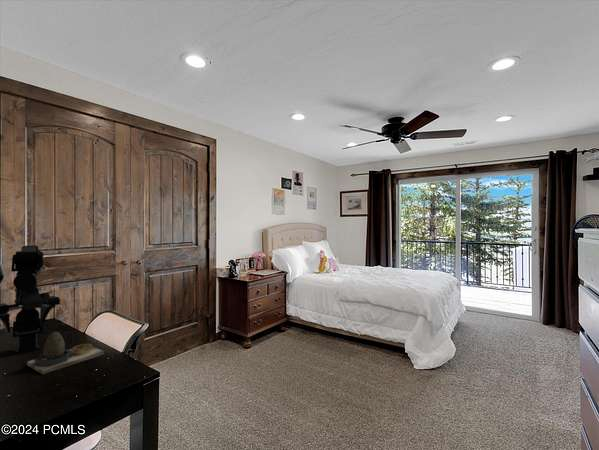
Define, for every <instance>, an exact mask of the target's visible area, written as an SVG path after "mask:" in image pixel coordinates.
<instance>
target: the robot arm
mask: <svg viewBox="0 0 599 450" xmlns="http://www.w3.org/2000/svg"><path fill="white" fill-rule="evenodd" d="M11 261H12V262H11V271H10V272H16V274H15V277H14V279H13V281H12V282H13V283H12V284H13V286H14V287H15V288H14V292H15V300H14V303H13V304H7V303H0V321H1V322H2V325H3V327H4V328H5V330H6V332H7V333H8V334H10V333H11V323H10V322H11V321H10V316H11V313H8V312H10V311H15V310H20V311H19V312H17V313H16V316H15V320H14V321H13V323H12V337H13V339H14V338H17V348H14V349H13V351H15V352H16V353H18V354H24V353H28V352H31V351H35V350H38V349H41V346H40V345H38V334H42V333H43V332H45V331H44V330H45V327H44V325H45V321H46V319H47V317H48V314H49V313H50V311H51V310H52V309H53V308H56V307H57V306H59V305H60V304H61V298H60V297H58V296H55V295H50V293H49V292H41V293H39V292H40V291H39V287H38V275H39V274H40V272H41V271H42V268H44V267H43V266H44V252H42V251H41V250H39V246H38V245H24V246H21V250H20V251H18V250H17V251H15V253H14V254H12V259H11ZM37 309H39V311H40V312H39V311H38V310H37Z"/></svg>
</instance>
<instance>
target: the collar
mask: <svg viewBox="0 0 599 450" xmlns="http://www.w3.org/2000/svg"><path fill="white" fill-rule="evenodd" d="M71 357H72V351H70V349H68V348H66V349H65V350H64V353H63V355H62V356H61V357H58V358H55V359H46V358H45V357H44V353H41V354H40V355H38V356H36V357H35V358H34V360H35V364H36V365H37V366H39V367H42V366H53V365H56V364H60V363H63V362H66V361H68V360H69V359H70V358H71ZM44 359H46V360H44Z"/></svg>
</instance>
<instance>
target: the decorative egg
mask: <svg viewBox="0 0 599 450" xmlns="http://www.w3.org/2000/svg"><path fill="white" fill-rule="evenodd" d="M65 344H66V343H65V340H64V338H63V336H62V334H61V333H60V332H58V331H53V332H51V333H50V334H49V335H48V337H47V338H46V340H45V343H44V345H43V353H44V357H45V358H46V359H55V358H58V357H61V356H62V355H63V353H64V350H65V348H66V345H65ZM43 353H42V354H43Z"/></svg>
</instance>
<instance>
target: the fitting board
mask: <svg viewBox="0 0 599 450" xmlns="http://www.w3.org/2000/svg"><path fill="white" fill-rule="evenodd" d="M69 350H70V351H72V348H70V349H69ZM102 355H105V351H104V350H102V349H99V348H97V347H94V346H93V350H92V351H91V352H89V353H86V354H82V355H74V354H72V357H71V358H70V359H69V360H68V361H66V362H63V363H60V364H56V365H53V366H42V367H39V366H37V365H36V364H35V359H31V360H28V361H27V362H26V366H28V367H29V368H31V369H33V370H34V371H36V372H38V374H39V373H40V374H41V375H45V374H48V373H51V372H53V371H54V372H55V371H57V370H60V369H63V368H67V367H69V366H72V365H75V364H79V363H81V362H85V361H88V360H90V359H94V358H96V357H100V356H102ZM44 360H46V359H44Z"/></svg>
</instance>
